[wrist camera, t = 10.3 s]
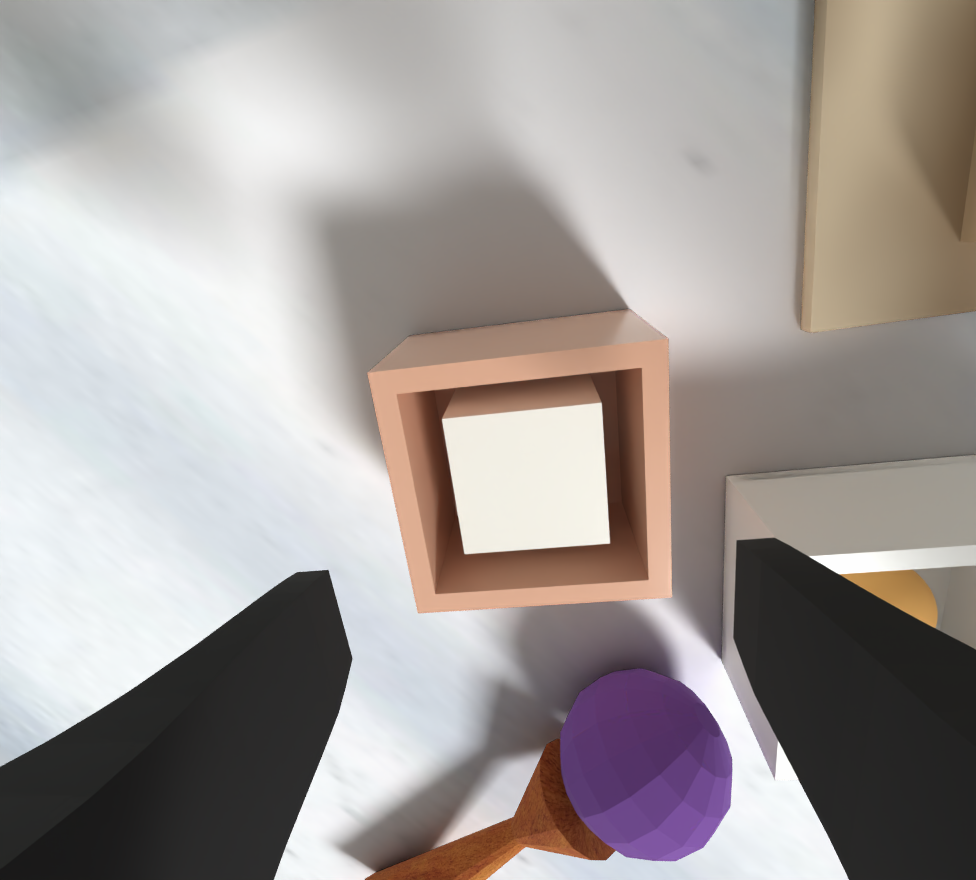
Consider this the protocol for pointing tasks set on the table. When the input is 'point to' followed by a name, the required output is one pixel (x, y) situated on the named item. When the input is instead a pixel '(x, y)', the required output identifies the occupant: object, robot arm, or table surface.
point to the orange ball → (900, 592)
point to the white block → (528, 464)
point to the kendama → (607, 785)
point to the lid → (890, 163)
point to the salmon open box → (627, 444)
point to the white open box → (858, 543)
